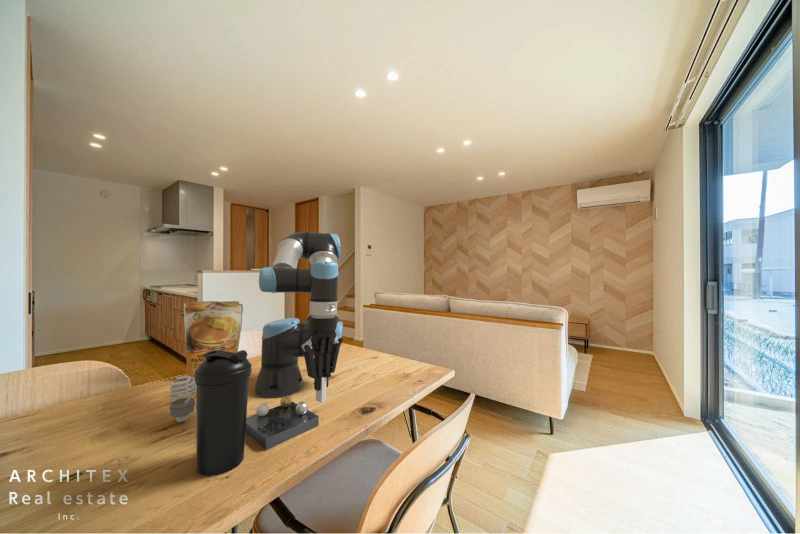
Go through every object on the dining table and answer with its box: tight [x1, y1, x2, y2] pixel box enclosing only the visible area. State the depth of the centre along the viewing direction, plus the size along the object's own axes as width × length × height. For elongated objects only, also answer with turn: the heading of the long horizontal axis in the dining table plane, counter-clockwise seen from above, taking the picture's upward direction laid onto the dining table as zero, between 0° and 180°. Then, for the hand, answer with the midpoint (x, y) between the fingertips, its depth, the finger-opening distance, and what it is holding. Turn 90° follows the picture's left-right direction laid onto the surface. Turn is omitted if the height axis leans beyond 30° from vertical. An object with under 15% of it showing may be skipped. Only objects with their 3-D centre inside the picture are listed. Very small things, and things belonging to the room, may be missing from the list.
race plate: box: [245, 401, 320, 451], centre depth 75 cm, size 13×14×2 cm
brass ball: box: [279, 395, 293, 407], centre depth 81 cm, size 3×3×3 cm
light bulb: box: [169, 375, 197, 423], centre depth 76 cm, size 6×6×12 cm
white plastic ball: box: [256, 403, 270, 416], centre depth 76 cm, size 3×3×3 cm
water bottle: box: [194, 349, 252, 477], centre depth 61 cm, size 10×10×23 cm
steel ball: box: [295, 401, 309, 415], centre depth 77 cm, size 3×3×3 cm
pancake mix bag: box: [182, 300, 244, 381], centre depth 109 cm, size 7×19×28 cm, turn 115°
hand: (320, 400), depth 81 cm, fingers closed
